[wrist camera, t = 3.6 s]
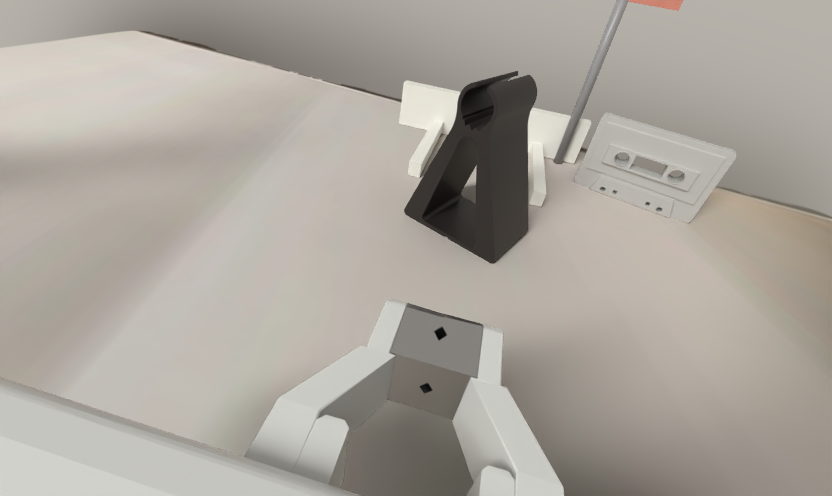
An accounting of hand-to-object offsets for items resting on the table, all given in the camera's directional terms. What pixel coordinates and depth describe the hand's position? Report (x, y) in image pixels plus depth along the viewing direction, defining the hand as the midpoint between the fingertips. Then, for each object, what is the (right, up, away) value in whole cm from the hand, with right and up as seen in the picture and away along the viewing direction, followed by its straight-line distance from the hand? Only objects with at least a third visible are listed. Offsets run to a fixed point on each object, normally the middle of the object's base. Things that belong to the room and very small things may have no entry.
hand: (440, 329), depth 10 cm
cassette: (+22, +7, +31) cm, 39 cm away
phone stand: (+4, +4, +23) cm, 24 cm away
